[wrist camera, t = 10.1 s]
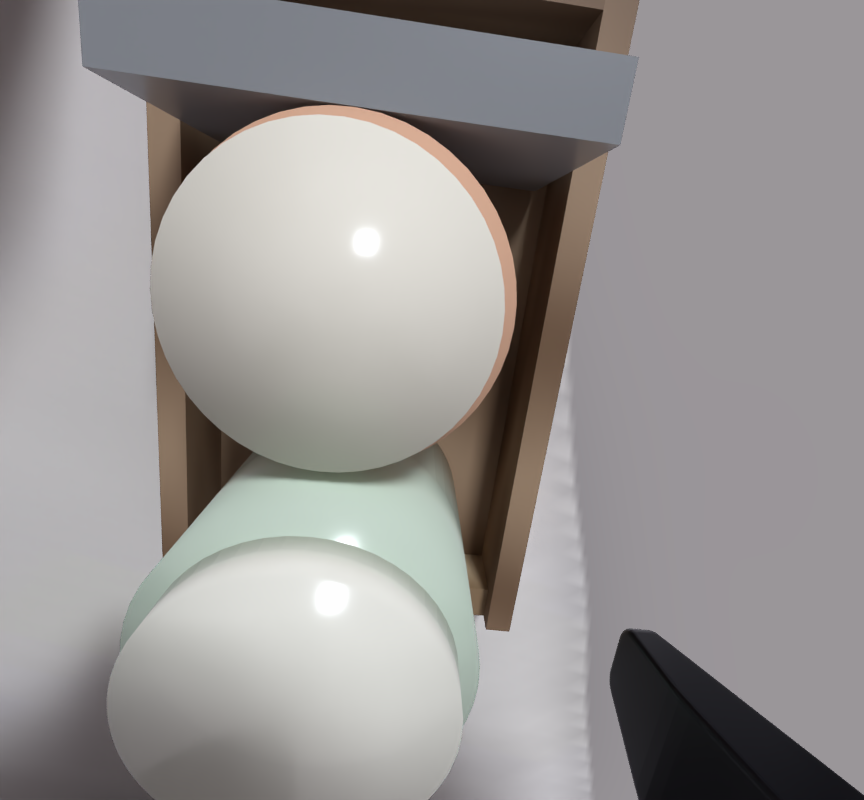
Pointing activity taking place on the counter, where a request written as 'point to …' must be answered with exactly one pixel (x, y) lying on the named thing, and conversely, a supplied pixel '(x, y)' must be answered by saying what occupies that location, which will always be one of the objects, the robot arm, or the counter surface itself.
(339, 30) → the bar
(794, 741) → the robot arm
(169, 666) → the sage jar
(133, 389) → the counter surface
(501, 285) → the terracotta jar
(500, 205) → the wooden tray
